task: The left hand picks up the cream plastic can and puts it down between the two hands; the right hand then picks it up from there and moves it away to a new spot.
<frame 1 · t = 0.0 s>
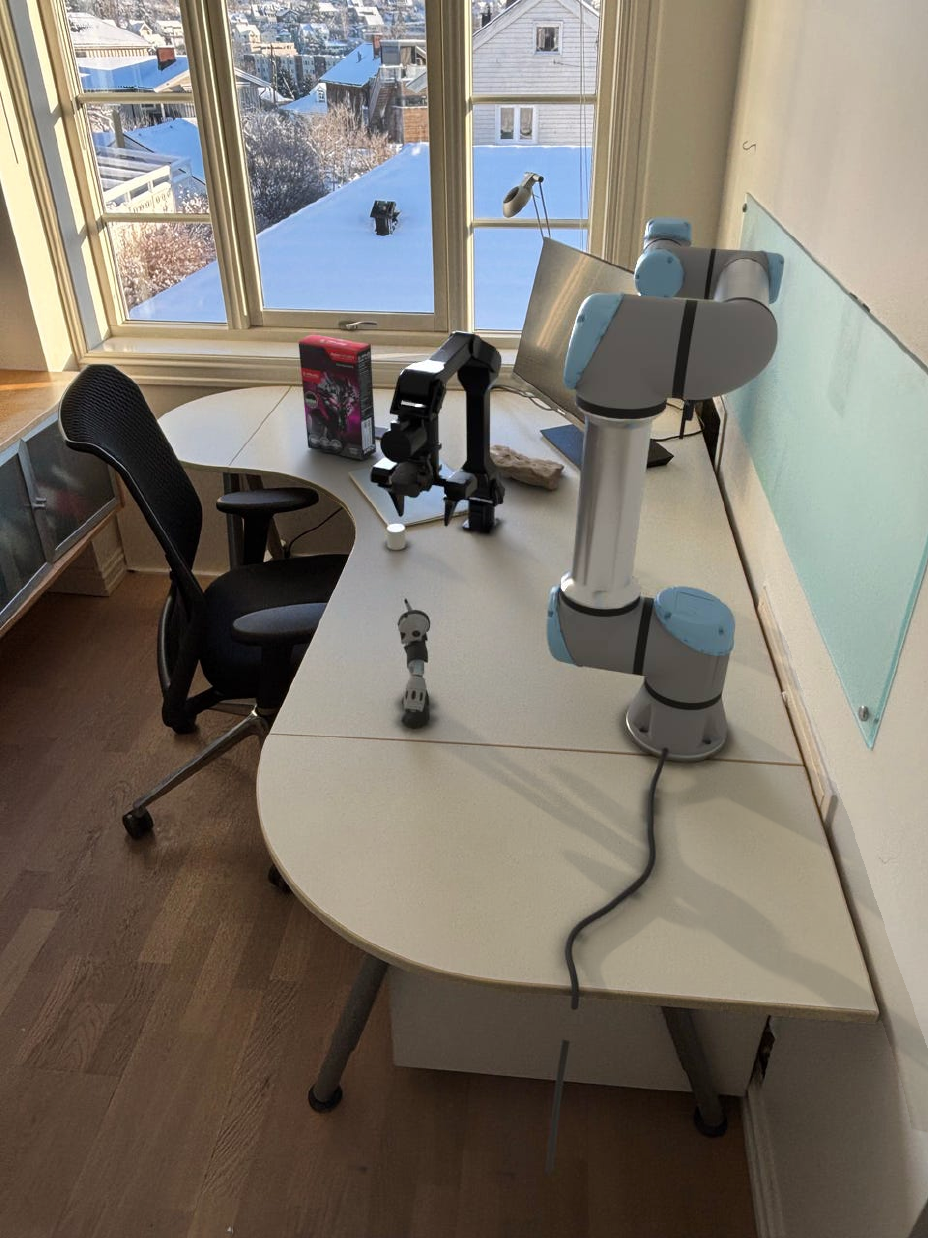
left hand: (423, 520, 169), 15 cm above the table, tool pointing down, fingers open, 9 cm apart
right hand: (643, 432, 170), 28 cm above the table, tool pointing down, fingers open, 13 cm apart
can: (396, 545, 191), on the table
graphics card box: (341, 451, 231), on the table
stone: (516, 477, 219), on the table
robot: (416, 712, 146), on the table
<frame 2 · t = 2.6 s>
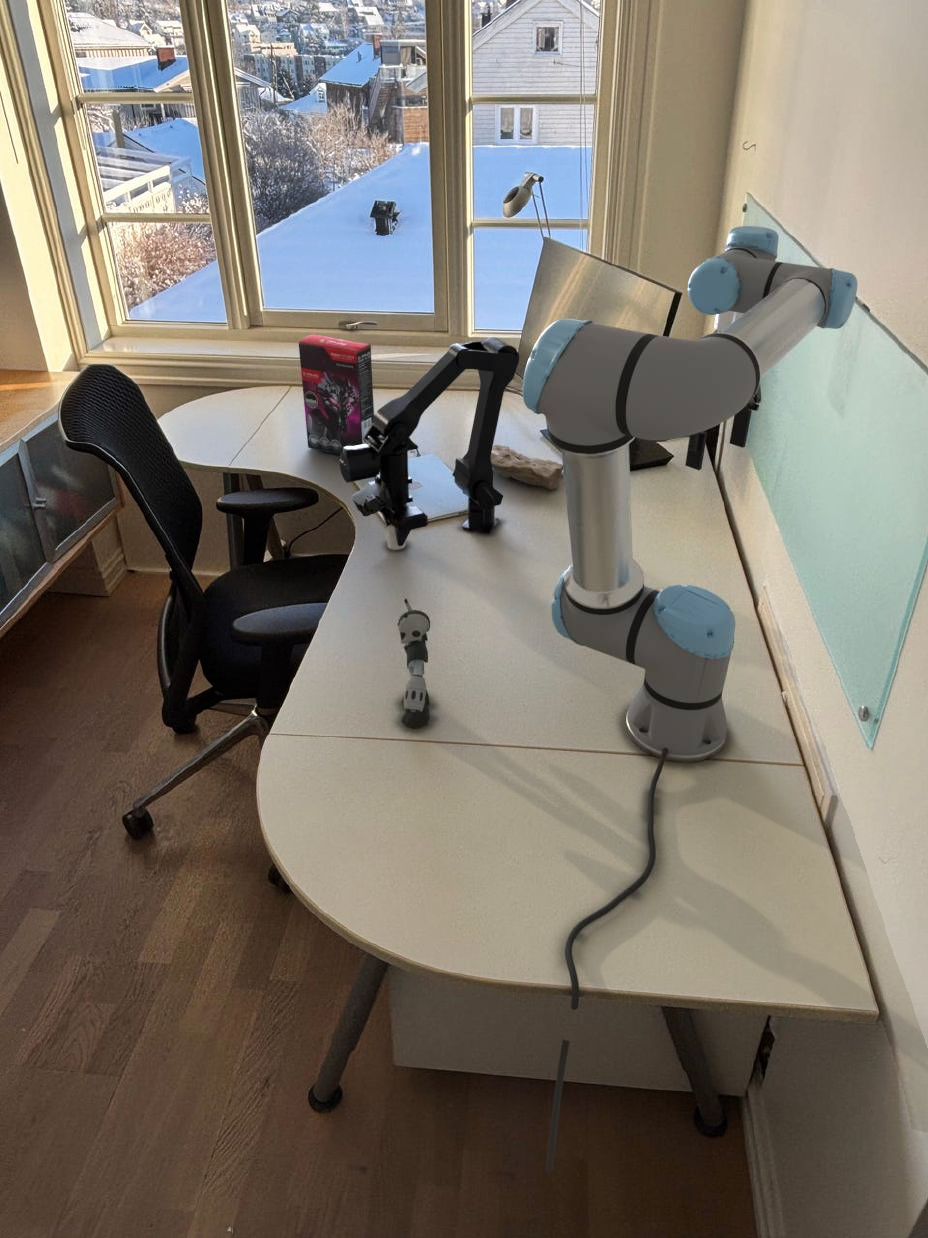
left hand: (396, 541, 190), 1 cm above the table, tool pointing down, fingers closed on can, 4 cm apart
right hand: (715, 456, 158), 29 cm above the table, tool pointing down, fingers open, 13 cm apart
can: (396, 545, 191), on the table, touching left hand
everything else where it was.
when the left hand's fingers open (2 cm above the table, at t = 6.1 s): can moves 3 cm, point 3 cm above the table.
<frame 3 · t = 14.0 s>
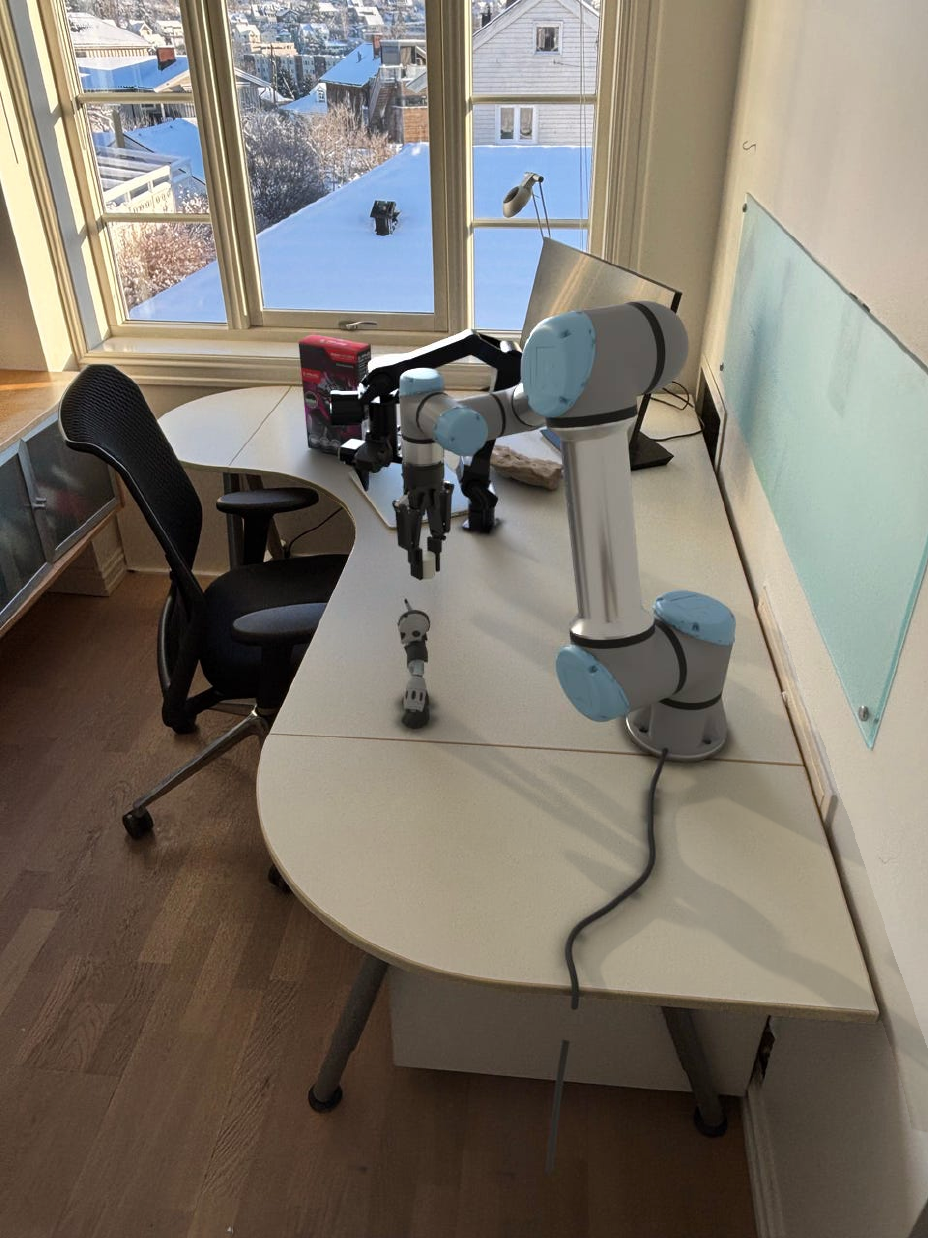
left hand: (386, 494, 192), 8 cm above the table, tool pointing down, fingers open, 9 cm apart
right hand: (425, 572, 175), 4 cm above the table, tool pointing down, fingers closed on can, 4 cm apart
can: (425, 574, 175), point 3 cm above the table, touching right hand
everything else where it was.
when the right hand's fingers open (0 cm above the table, at t = 16.4 s): can stays where it is, on the table.
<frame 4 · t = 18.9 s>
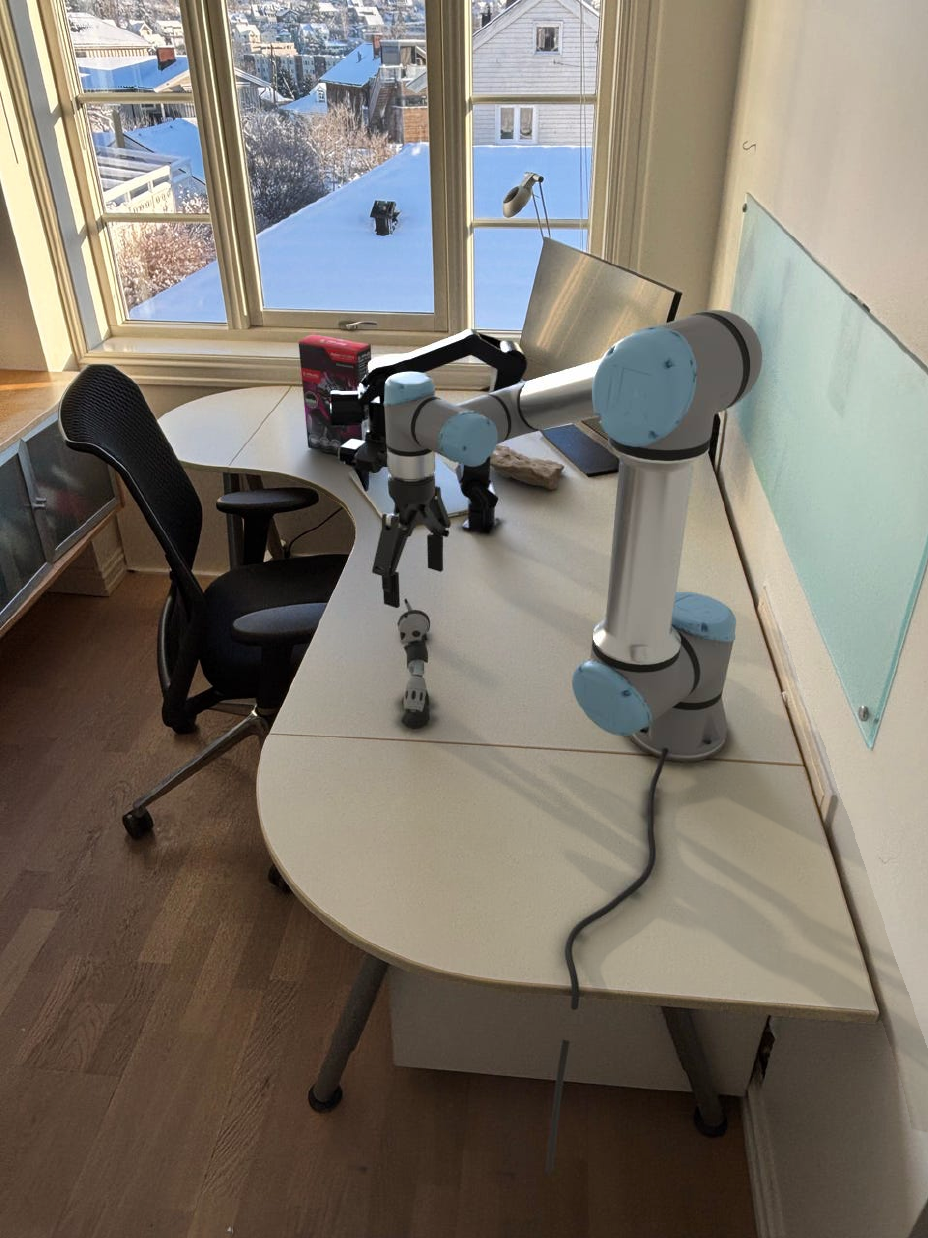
left hand: (386, 494, 192), 8 cm above the table, tool pointing down, fingers open, 9 cm apart
right hand: (414, 586, 157), 11 cm above the table, tool pointing down, fingers open, 13 cm apart
can: (415, 638, 163), on the table
everything else where it was.
at the end: can inside the target area (0.1 cm from its centre), on the table; can tilted 0°; the two hands never held the can at the same time; the left hand is holding nothing; the right hand is holding nothing; can at rest at the end (0.0 cm/s) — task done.
